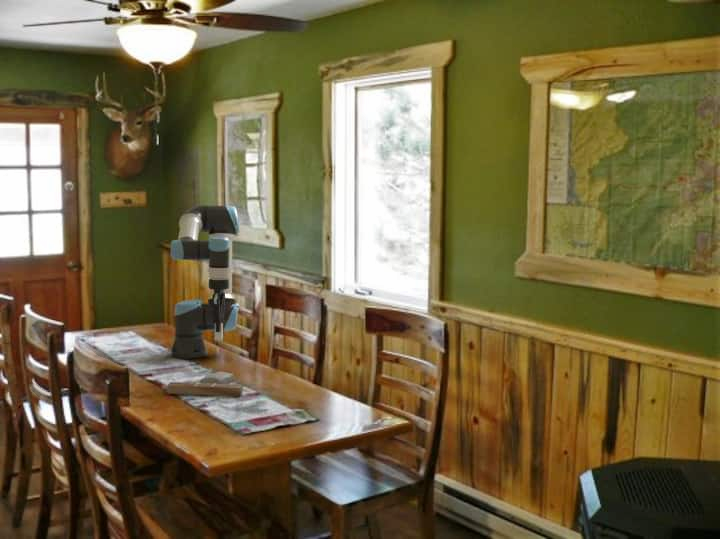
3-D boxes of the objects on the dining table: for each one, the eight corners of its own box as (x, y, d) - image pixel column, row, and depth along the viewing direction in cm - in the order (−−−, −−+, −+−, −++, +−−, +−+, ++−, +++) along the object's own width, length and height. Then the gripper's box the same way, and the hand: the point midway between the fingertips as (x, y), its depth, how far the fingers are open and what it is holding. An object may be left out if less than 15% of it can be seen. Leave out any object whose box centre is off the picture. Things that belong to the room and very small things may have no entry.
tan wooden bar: (170, 390, 280) (170, 381, 280) (242, 392, 280) (242, 384, 279) (167, 393, 276) (167, 384, 276) (240, 396, 276) (240, 387, 275)
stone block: (198, 392, 286) (224, 388, 284) (196, 379, 286) (222, 375, 284) (211, 384, 298) (236, 381, 295) (209, 372, 297) (233, 369, 295)
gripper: (212, 275, 302) (212, 336, 304) (204, 280, 289) (204, 343, 291) (232, 276, 301) (231, 336, 304) (225, 280, 288) (224, 343, 291)
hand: (218, 339), depth 298 cm, fingers closed
